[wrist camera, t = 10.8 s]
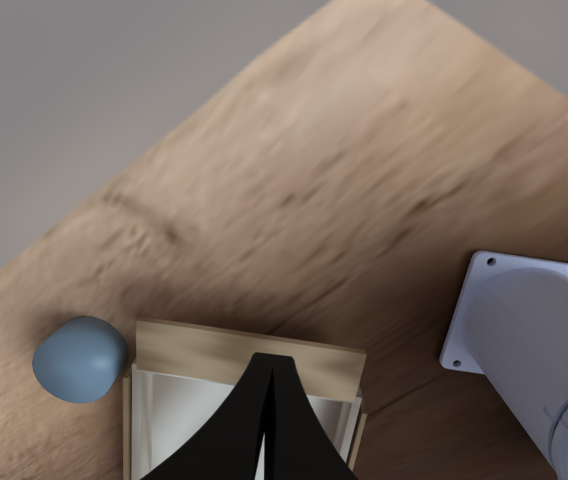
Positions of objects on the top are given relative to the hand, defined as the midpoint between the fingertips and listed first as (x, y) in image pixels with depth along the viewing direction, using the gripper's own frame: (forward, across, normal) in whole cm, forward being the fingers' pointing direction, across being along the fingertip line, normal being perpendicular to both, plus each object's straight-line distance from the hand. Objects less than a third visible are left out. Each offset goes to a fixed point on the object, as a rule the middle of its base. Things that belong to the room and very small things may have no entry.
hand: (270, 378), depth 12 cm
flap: (+7, +1, +7) cm, 10 cm away
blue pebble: (+11, +12, +8) cm, 18 cm away
